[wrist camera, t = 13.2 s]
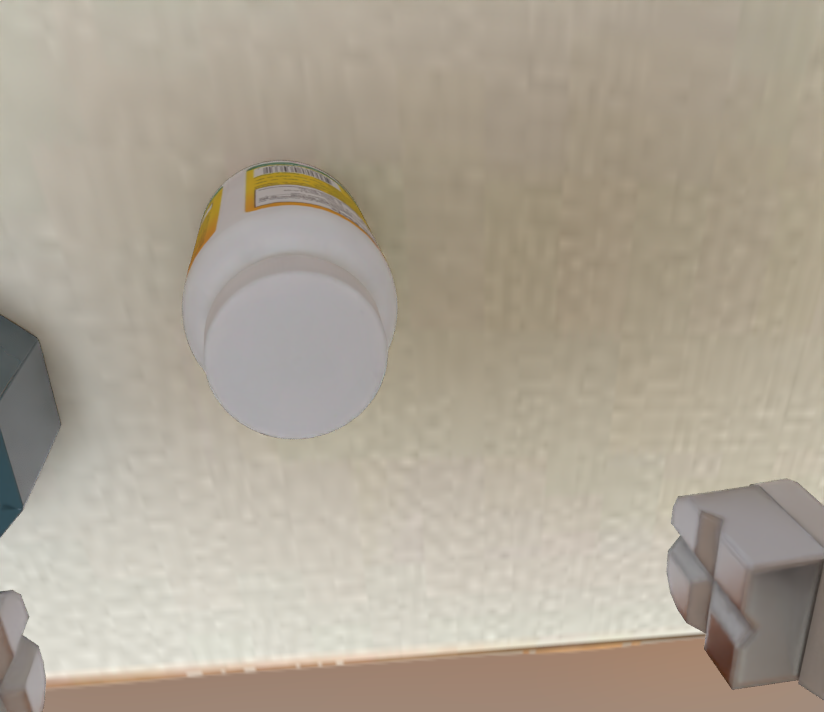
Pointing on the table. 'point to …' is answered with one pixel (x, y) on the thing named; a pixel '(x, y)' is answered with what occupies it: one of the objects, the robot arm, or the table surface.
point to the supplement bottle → (289, 301)
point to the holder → (22, 418)
